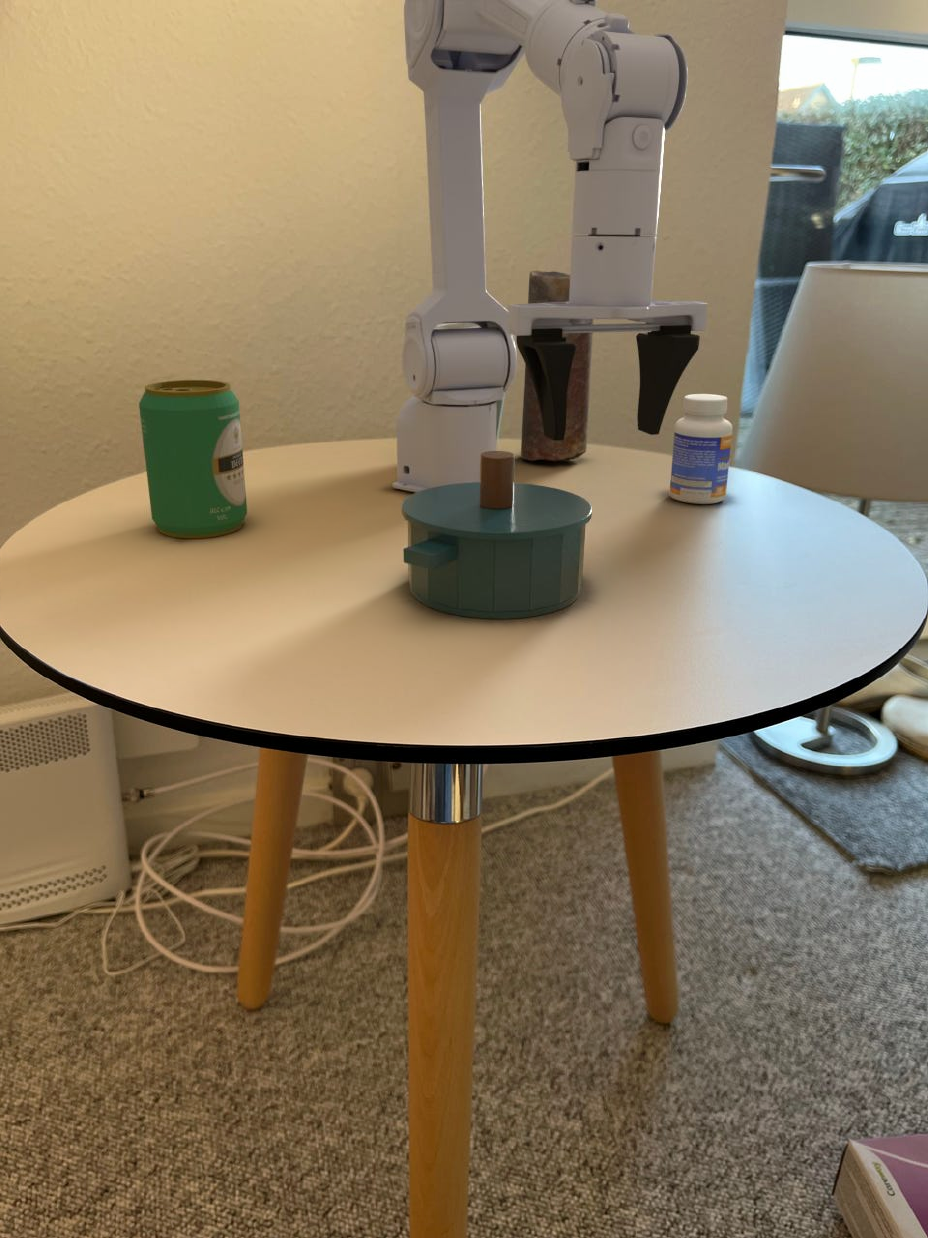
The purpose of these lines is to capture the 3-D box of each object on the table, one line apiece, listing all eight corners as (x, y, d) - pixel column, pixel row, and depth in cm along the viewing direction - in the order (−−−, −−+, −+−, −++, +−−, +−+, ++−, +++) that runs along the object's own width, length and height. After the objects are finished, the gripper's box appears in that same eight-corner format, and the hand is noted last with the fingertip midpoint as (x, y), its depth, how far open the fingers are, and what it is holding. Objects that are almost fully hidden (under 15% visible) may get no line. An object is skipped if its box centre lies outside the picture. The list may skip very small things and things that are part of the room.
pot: (348, 603, 68) (345, 524, 66) (494, 542, 82) (496, 475, 79) (494, 646, 61) (496, 560, 59) (628, 572, 75) (633, 500, 73)
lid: (362, 524, 68) (360, 457, 67) (475, 486, 78) (476, 428, 77) (523, 562, 61) (525, 488, 59) (625, 515, 71) (629, 451, 69)
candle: (550, 448, 116) (558, 269, 109) (600, 458, 111) (611, 271, 104) (507, 458, 111) (512, 270, 103) (557, 469, 106) (566, 273, 99)
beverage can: (223, 543, 81) (210, 395, 76) (135, 535, 82) (117, 390, 78) (262, 517, 88) (253, 380, 84) (181, 511, 90) (167, 377, 85)
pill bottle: (726, 506, 93) (737, 402, 89) (668, 503, 94) (677, 400, 90) (724, 492, 98) (734, 393, 94) (668, 489, 99) (677, 391, 95)
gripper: (538, 235, 61) (530, 452, 66) (739, 237, 65) (717, 439, 71) (498, 234, 67) (494, 432, 72) (684, 235, 72) (668, 422, 77)
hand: (601, 435), depth 72 cm, fingers open, 7 cm apart
